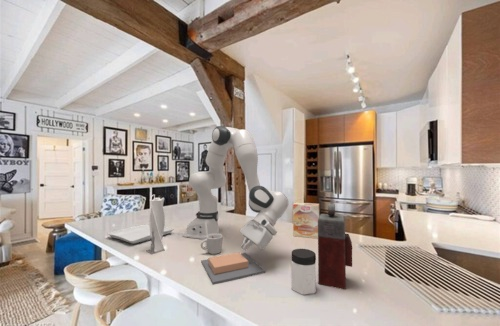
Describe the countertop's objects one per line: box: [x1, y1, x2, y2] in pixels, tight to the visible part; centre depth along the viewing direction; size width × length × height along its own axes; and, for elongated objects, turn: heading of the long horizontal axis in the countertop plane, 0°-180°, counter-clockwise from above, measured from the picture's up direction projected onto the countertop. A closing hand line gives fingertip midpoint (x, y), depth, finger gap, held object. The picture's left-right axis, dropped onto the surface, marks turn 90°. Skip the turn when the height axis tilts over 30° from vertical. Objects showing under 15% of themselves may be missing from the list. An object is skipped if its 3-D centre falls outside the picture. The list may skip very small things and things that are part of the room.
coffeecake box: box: [292, 201, 320, 240], centre depth 132 cm, size 15×7×20 cm, turn 70°
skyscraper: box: [145, 194, 166, 255], centre depth 110 cm, size 8×8×28 cm
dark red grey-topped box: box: [317, 203, 353, 290], centre depth 80 cm, size 9×11×28 cm
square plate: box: [106, 223, 175, 244], centre depth 133 cm, size 27×27×4 cm
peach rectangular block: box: [207, 252, 248, 274], centre depth 90 cm, size 10×3×14 cm
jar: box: [290, 248, 317, 296], centre depth 75 cm, size 9×8×12 cm
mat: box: [200, 252, 266, 285], centre depth 91 cm, size 20×21×1 cm
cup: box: [200, 233, 224, 255], centre depth 106 cm, size 11×8×8 cm
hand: (242, 248), depth 93 cm, fingers closed
